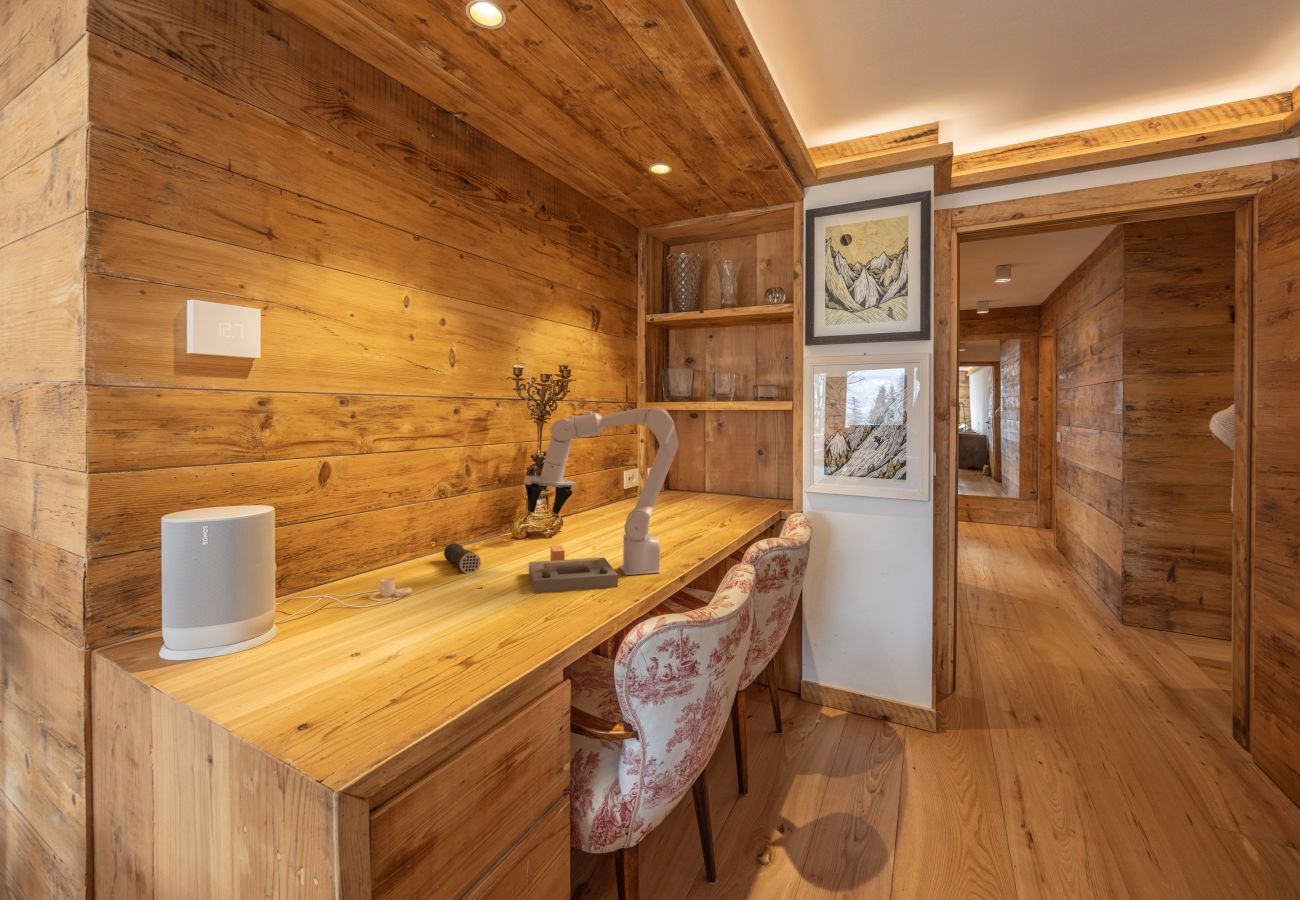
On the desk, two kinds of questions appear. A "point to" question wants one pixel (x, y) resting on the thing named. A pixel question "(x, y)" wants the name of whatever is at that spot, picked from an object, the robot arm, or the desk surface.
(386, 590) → the teacup and saucer
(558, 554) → the orange rectangular block
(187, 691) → the desk surface
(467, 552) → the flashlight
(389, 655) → the desk surface
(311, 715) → the desk surface
